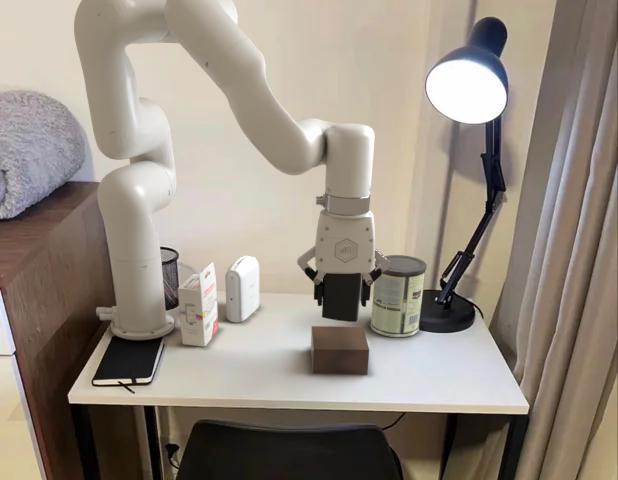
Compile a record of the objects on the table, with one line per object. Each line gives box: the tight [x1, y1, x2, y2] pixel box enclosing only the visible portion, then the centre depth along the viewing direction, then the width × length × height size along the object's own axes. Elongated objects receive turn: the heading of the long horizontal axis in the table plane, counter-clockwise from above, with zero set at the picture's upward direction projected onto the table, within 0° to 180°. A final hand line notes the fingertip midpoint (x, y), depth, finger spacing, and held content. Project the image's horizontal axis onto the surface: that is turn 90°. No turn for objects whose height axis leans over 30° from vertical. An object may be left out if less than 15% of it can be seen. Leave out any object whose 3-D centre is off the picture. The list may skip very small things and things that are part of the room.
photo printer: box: [224, 255, 260, 323], centre depth 140 cm, size 10×4×12 cm, turn 160°
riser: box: [310, 325, 370, 375], centre depth 124 cm, size 10×10×5 cm
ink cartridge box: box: [177, 261, 219, 347], centre depth 129 cm, size 9×5×15 cm, turn 168°
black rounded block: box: [321, 273, 364, 323], centre depth 118 cm, size 7×4×11 cm, turn 74°
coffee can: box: [370, 254, 428, 338], centre depth 136 cm, size 10×10×14 cm
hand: (341, 302), depth 119 cm, fingers closed on black rounded block, 7 cm apart
